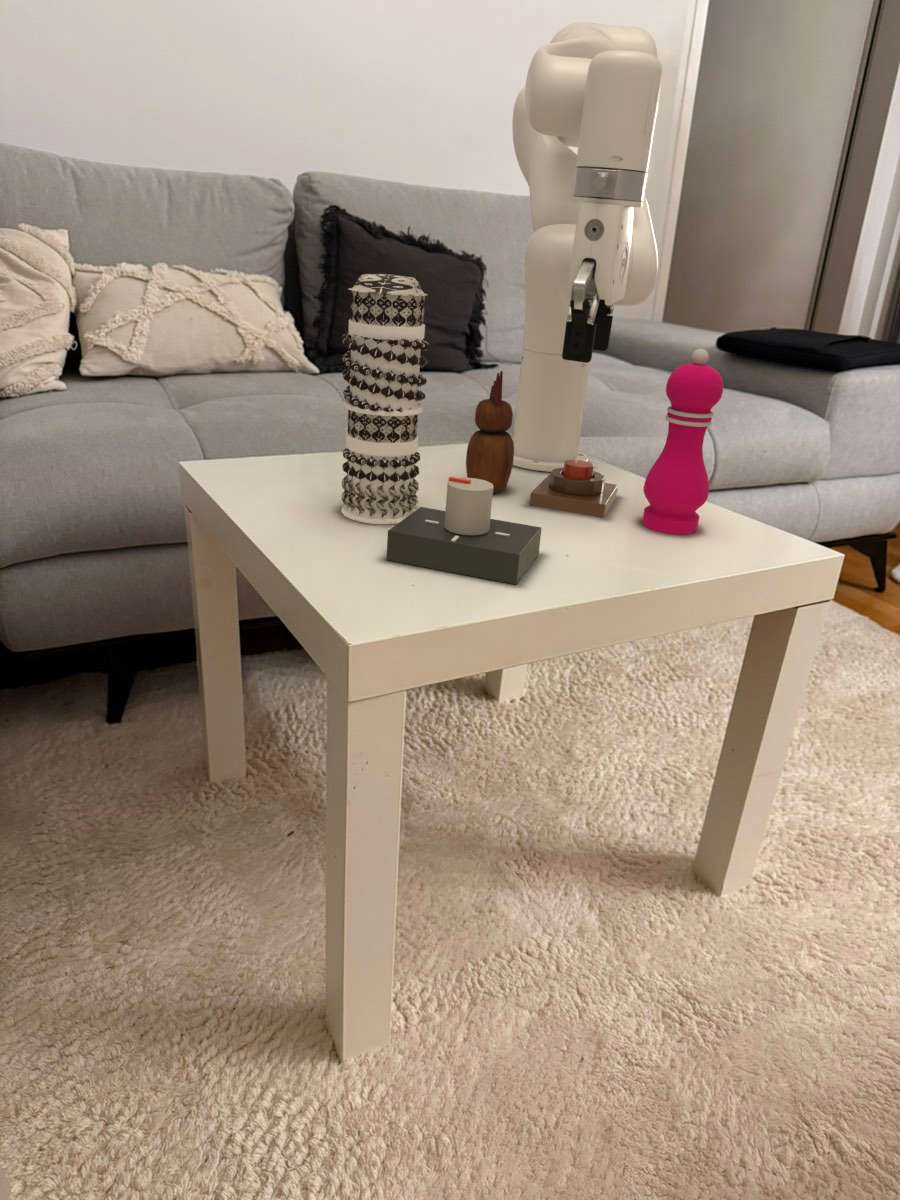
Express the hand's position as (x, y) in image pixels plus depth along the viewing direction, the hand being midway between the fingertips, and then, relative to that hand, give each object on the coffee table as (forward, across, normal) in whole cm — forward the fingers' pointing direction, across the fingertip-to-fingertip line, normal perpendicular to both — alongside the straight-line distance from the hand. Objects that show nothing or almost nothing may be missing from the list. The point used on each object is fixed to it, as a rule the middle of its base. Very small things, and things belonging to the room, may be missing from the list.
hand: (585, 354), depth 98 cm
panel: (+17, -26, +4) cm, 31 cm away
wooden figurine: (+18, -1, +10) cm, 21 cm away
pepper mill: (+18, -3, -13) cm, 22 cm away
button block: (+18, +1, -1) cm, 18 cm away
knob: (+14, -25, +4) cm, 29 cm away
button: (+15, +1, -1) cm, 15 cm away
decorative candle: (+18, -17, +18) cm, 30 cm away
